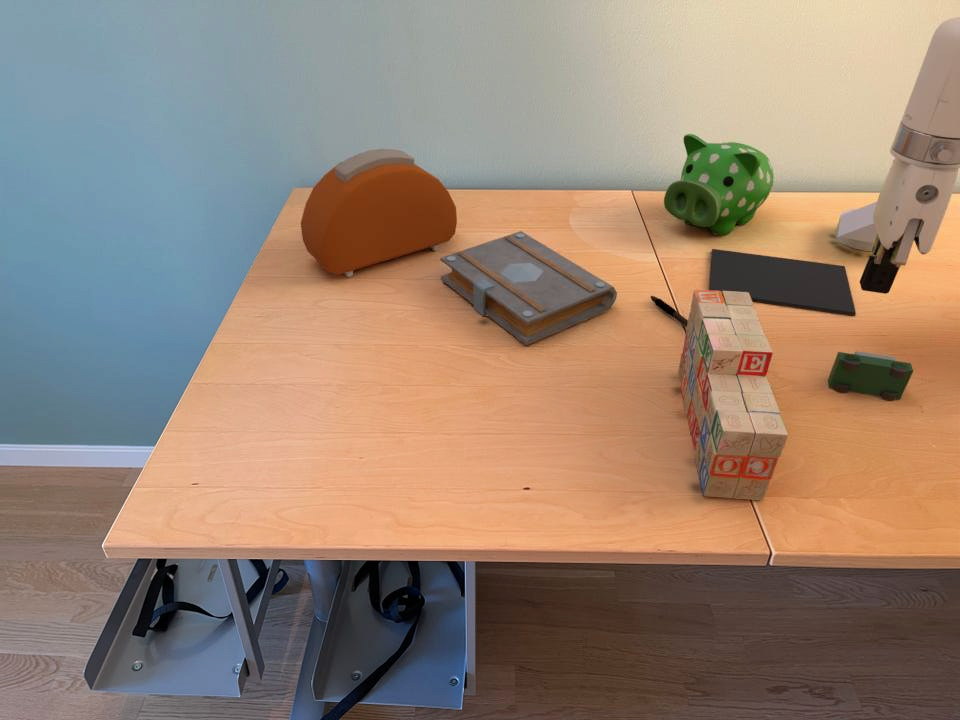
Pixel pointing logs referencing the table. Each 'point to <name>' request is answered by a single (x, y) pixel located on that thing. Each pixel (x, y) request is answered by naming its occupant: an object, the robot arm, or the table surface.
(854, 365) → the toy car
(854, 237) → the wedge on round base
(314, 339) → the table surface
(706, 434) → the stack of blocks
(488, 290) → the book
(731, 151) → the piggy bank
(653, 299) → the pen
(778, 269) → the mat
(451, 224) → the orange toaster
